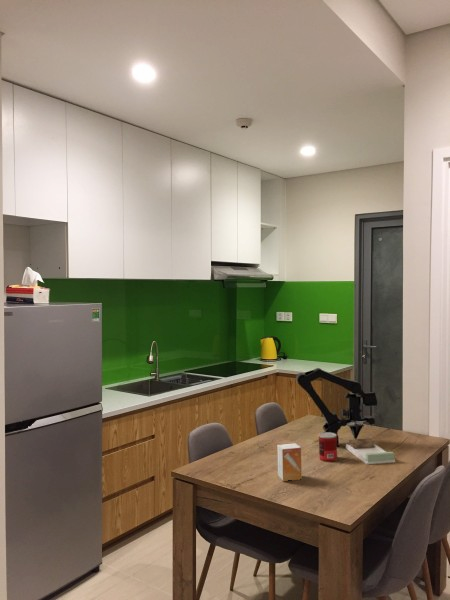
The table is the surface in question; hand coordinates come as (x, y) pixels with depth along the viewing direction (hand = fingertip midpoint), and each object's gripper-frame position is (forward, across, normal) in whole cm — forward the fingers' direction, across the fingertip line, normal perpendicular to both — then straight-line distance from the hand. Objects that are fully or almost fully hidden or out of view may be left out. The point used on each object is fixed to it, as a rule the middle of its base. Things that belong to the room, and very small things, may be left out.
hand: (355, 438), depth 245 cm
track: (+3, 0, +16) cm, 16 cm away
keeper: (+2, 0, +7) cm, 7 cm away
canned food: (+3, +20, +17) cm, 26 cm away
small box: (+3, +43, +36) cm, 56 cm away
